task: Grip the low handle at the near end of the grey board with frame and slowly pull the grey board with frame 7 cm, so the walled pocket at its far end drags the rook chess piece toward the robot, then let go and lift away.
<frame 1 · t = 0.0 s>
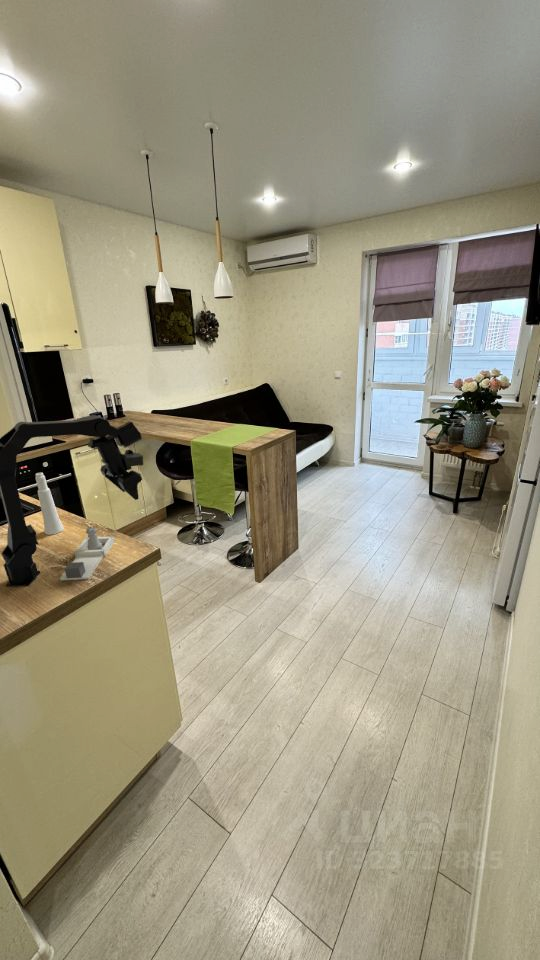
hand: (130, 495, 124), 15 cm above the table, tool pointing down, fingers open, 9 cm apart
rook chess piece: (95, 550, 122), resting in grey board with frame
cosmetic bottle: (54, 531, 135), on the table
grey board with frame: (87, 554, 116), point 2 cm above the table, slide at 0.0 cm
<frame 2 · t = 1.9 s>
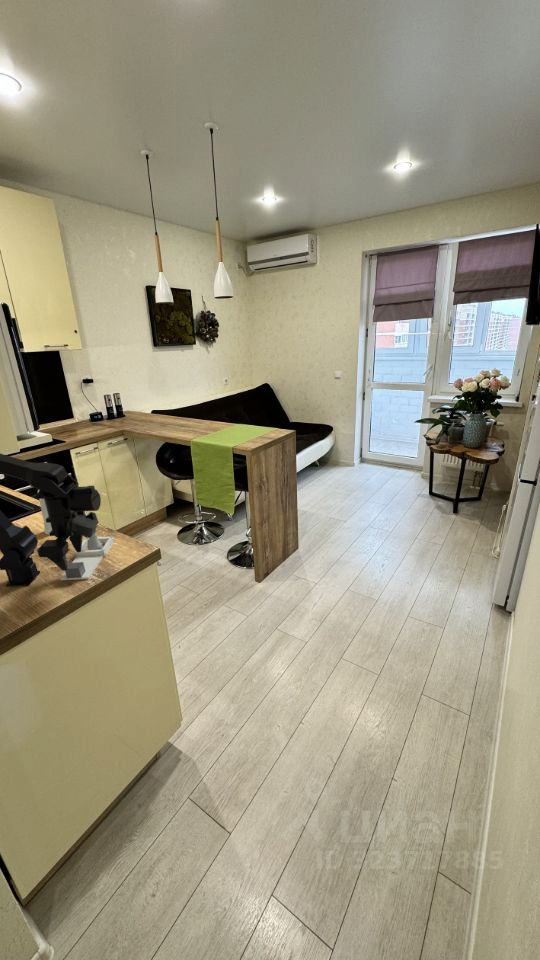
hand: (72, 560, 107), 6 cm above the table, tool pointing down, fingers open, 9 cm apart
nothing on the table moved.
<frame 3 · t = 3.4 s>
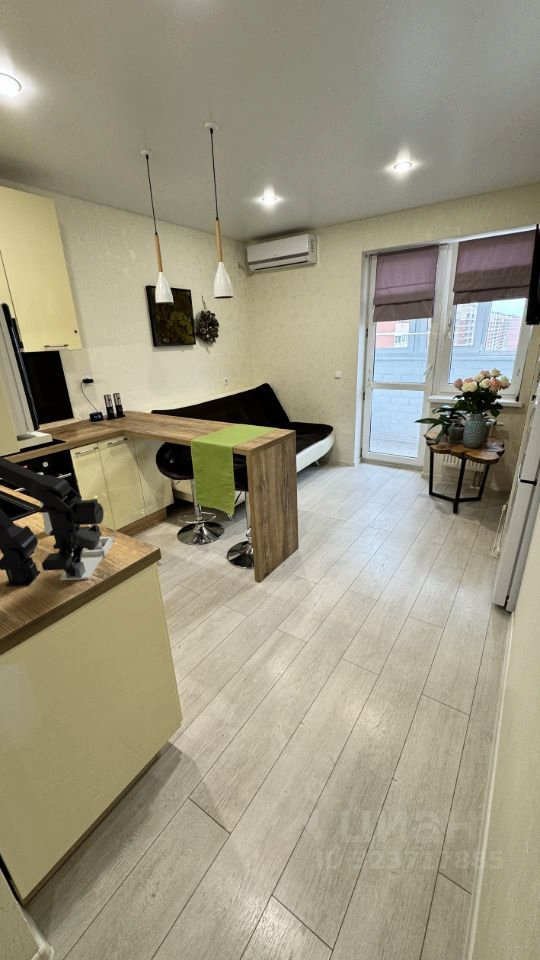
hand: (75, 572, 108), 2 cm above the table, tool pointing down, fingers closed on grey board with frame, 3 cm apart
grey board with frame: (87, 554, 116), point 2 cm above the table, slide at 0.0 cm, touching gripper
everything else where it was.
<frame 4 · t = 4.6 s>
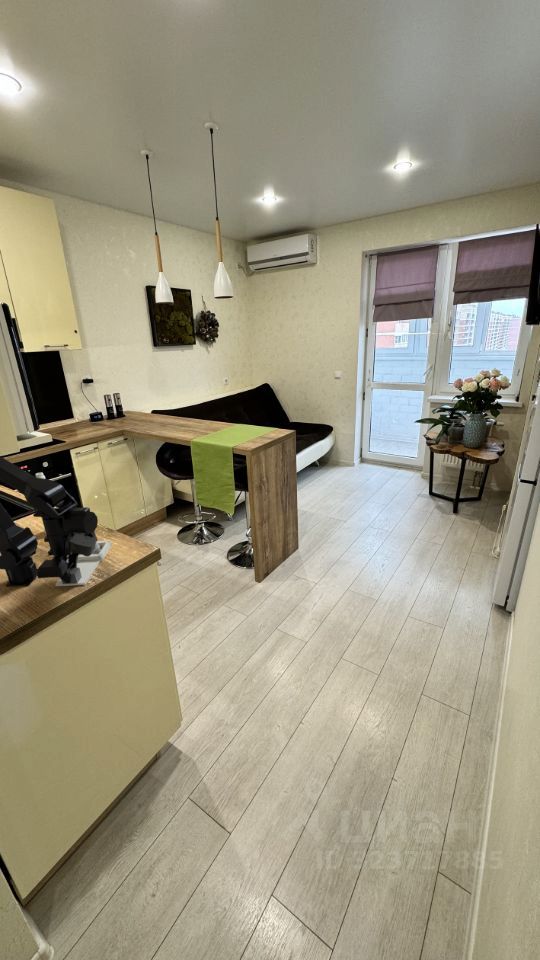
hand: (71, 578, 105), 1 cm above the table, tool pointing down, fingers open, 3 cm apart
rook chess piece: (94, 552, 121), resting in grey board with frame
grey board with frame: (84, 559, 114), point 2 cm above the table, slide at 2.7 cm, touching gripper, rook chess piece
everything else where it was.
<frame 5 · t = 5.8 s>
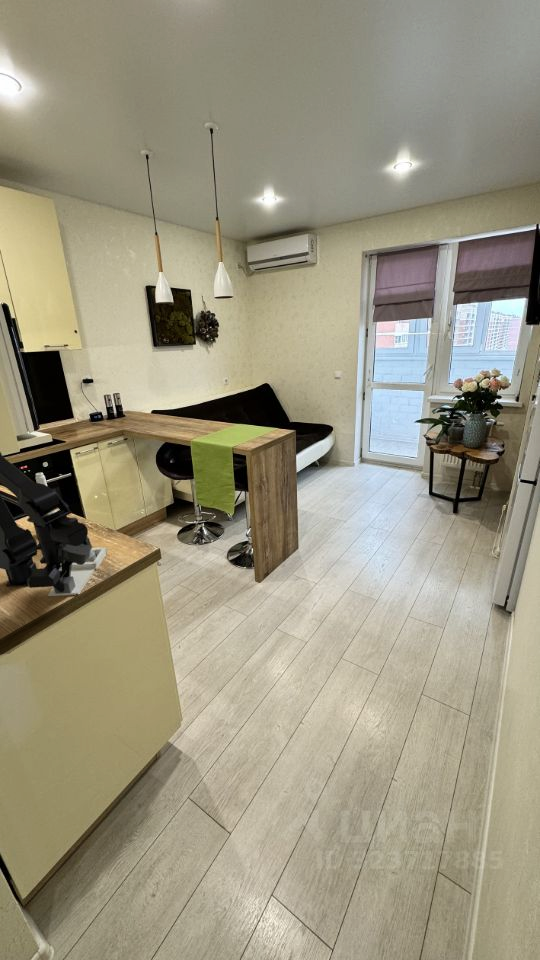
hand: (64, 587, 102), 2 cm above the table, tool pointing down, fingers closed on grey board with frame, 3 cm apart
rook chess piece: (88, 560, 117), resting in grey board with frame
grey board with frame: (78, 567, 110), point 2 cm above the table, slide at 6.8 cm, touching gripper, rook chess piece
everything else where it was.
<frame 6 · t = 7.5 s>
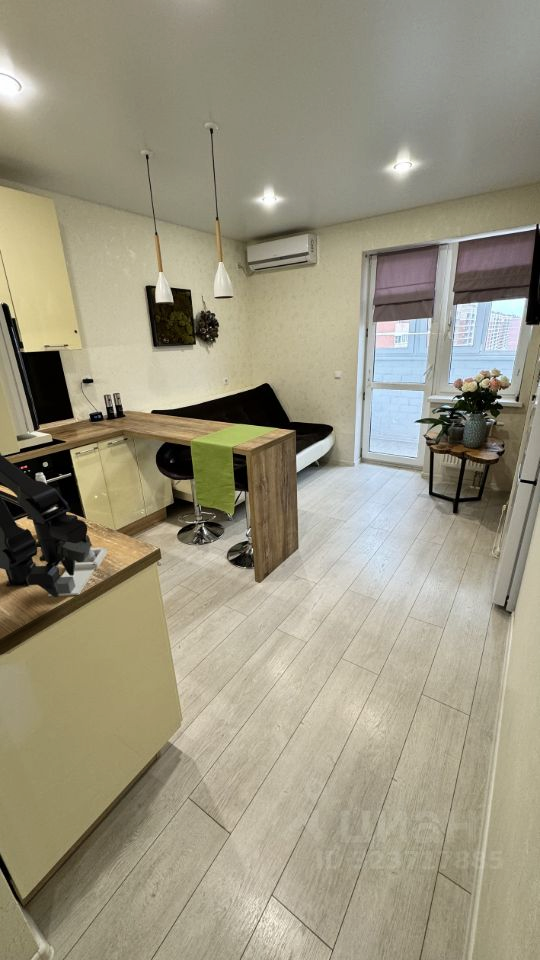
hand: (64, 585, 101), 2 cm above the table, tool pointing down, fingers open, 9 cm apart
rook chess piece: (88, 560, 117), resting in grey board with frame
grey board with frame: (78, 567, 110), point 2 cm above the table, slide at 6.9 cm
everything else where it was.
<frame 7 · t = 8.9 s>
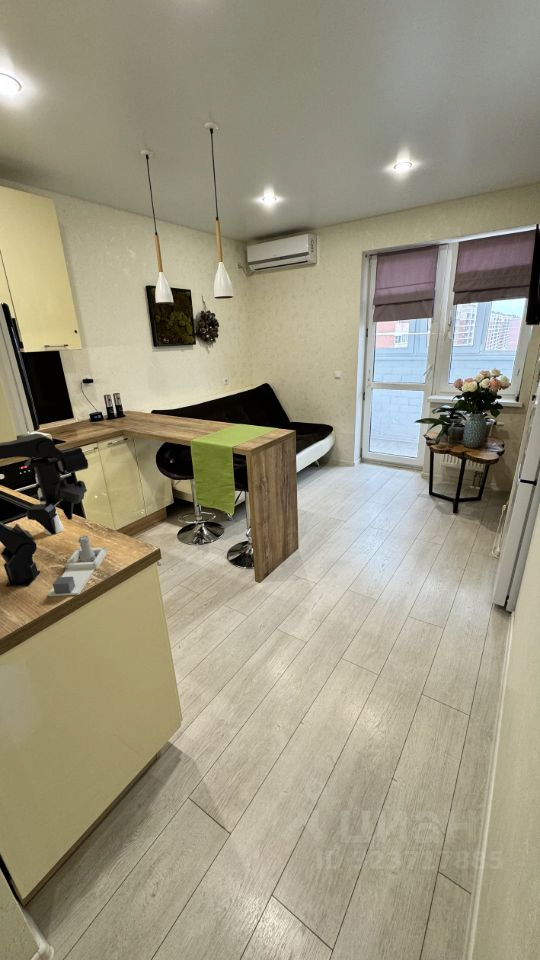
hand: (62, 526, 112), 12 cm above the table, tool pointing down, fingers open, 9 cm apart
nothing on the table moved.
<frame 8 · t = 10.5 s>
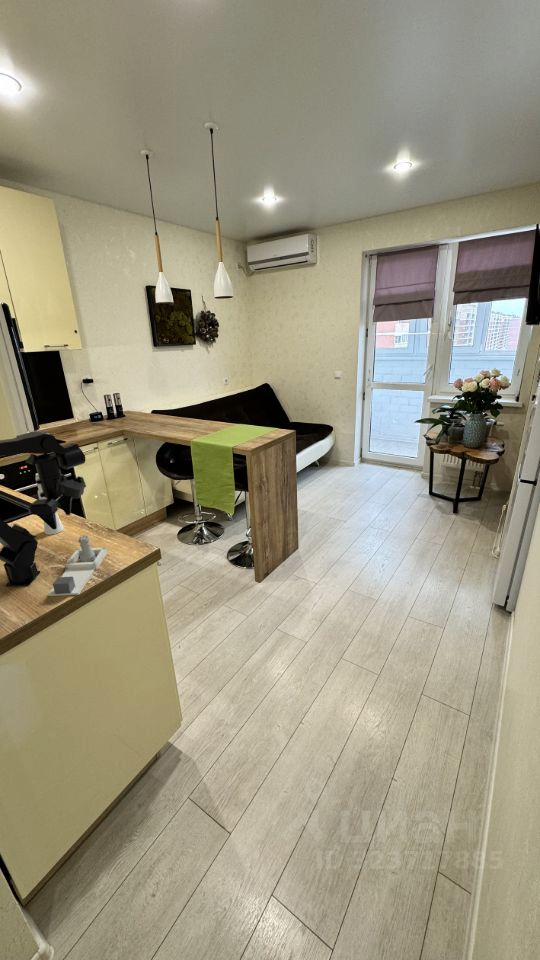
hand: (61, 521, 115), 12 cm above the table, tool pointing down, fingers open, 9 cm apart
nothing on the table moved.
at the end: grey board with frame slide at 6.9 cm; rook chess piece inside the target area (0.2 cm from its centre), resting in grey board with frame; rook chess piece tilted 0° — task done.
